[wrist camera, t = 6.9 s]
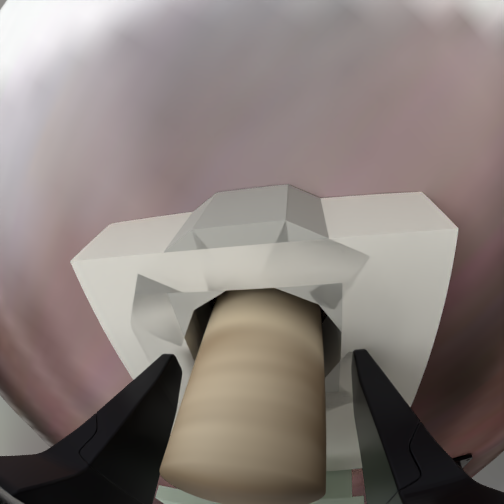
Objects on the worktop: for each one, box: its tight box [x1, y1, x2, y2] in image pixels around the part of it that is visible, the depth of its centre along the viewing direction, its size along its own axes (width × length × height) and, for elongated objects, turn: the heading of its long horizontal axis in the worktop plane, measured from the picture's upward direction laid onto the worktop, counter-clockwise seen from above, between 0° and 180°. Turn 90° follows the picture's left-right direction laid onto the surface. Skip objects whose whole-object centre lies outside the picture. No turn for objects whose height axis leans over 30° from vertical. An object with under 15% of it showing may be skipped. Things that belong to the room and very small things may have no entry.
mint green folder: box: [155, 469, 364, 504], centre depth 15 cm, size 6×10×7 cm, turn 99°
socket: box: [70, 184, 458, 471], centre depth 13 cm, size 17×12×3 cm
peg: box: [159, 288, 326, 504], centre depth 9 cm, size 4×4×8 cm
